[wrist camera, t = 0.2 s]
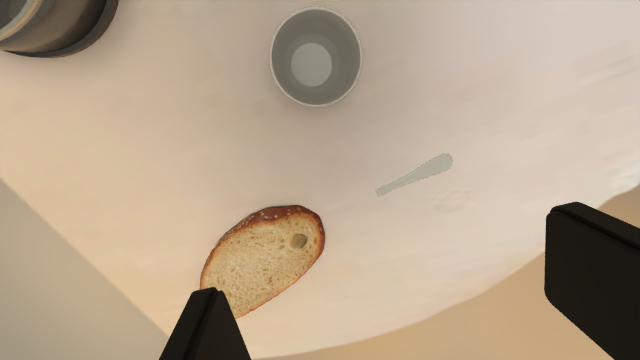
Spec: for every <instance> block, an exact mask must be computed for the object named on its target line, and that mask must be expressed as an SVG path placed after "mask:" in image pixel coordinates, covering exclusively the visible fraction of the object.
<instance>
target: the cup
mask: <svg viewBox="0 0 640 360" xmlns="http://www.w3.org/2000/svg"><path fill="white" fill-rule="evenodd" d="M362 60H363V55H362V47H361V43H360V39H359V37H358V35H357V33H356V31H355V29H354V28H353V26H352V25H351V24H350V22H349V21H348V20H347V19H346V18H344V17H343V16H342V15H341V14H339V13H337V12H335V11H333V10H331V9H328V8H324V7H307V8H303V9H300V10H298V11H296V12H294V13H292V14H291V15H289V16H288V17H287V18H286V19H284V20H283V22H282V23H281V24H280V25H279V27H278V28H277V30H276V31H275V33H274V36H273V38H272V41H271V45H270V51H269V62H270V68H271V72H272V75H273V78H274V80H275V82H276V84H277V85H278V87H279V88H280V89H281V91H282V92H283V93H284V94H285V95H286V96H287V97H289V98H290V99H291V100H293V101H295V102H297V103H299V104H301V105H304V106H309V107H324V106H328V105H331V104H334V103H336V102H338V101H339V100H341V99H342V98H344V97H345V96H346V95H347V94H348V93H349V92H350V91H351V90H352V88H353V87H354V85H355V84H356V82H357V80H358V78H359V75H360V72H361V68H362Z"/></svg>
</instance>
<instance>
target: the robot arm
mask: <svg viewBox="0 0 640 360" xmlns="http://www.w3.org/2000/svg"><path fill="white" fill-rule="evenodd" d="M544 290H545V295H546V297H547V299H548V300H549V302H550V303H551V304H552V305H553V306H554V307H555V308H557V309H558V310H559V311H560V312H561V313H562V314H563V315H564V316H566V317H567V318H568V319H569V320H570V321H571V322H573V323H574V324H575V325H576V326H577V327H578V328H579V329H580V330H581V331H583V332H584V333H585V334H586V335H587V336H589V338H591V339H592V340H593V341H594V342H595V343H596V344H597V345H598V346H600V347H601V348H602V349H603V350H604V351H605V352H606V353H607V354H609V355H610V356H611V357H612V358H613V359H614V360H640V228H637V227H635V226H633V225H631V224H628V223H626V222H624V221H621V220H619V219H617V218H615V217H612V216H610V215H608V214H605V213H603V212H601V211H599V210H596V209H594V208H592V207H589V206H587V205H585V204H583V203H580V202H572V203H568V204H564V205H559V206H555V207H553V208H552V209H551V211H550V213H549V214H548V215H547V217H546V244H545V286H544ZM159 360H251V358H250V355H249V353H248V350H247V348H246V345H245V343H244V340H243V338H242V335H241V333H240V330H239V328H238V325H237V323H236V320H235V318H234V315H233V313H232V310H231V308H230V305H229V303H228V300H227V298H226V295H225V293H224V292H223V291H222V290H220V291H218V290H217V288H216V287H210V288H205V289H201V290H197V291H194V292H193V293H192V294H191V296H190V298H189V300H188V302H187V304H186V306H185V308H184V310H183V312H182V314H181V316H180V318H179V320H178V322H177V324H176V326H175V328H174V330H173V332H172V334H171V336H170V338H169V340H168V342H167V344H166V346H165V348H164V350H163V352H162V354H161V357H160V358H159Z"/></svg>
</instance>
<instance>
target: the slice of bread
mask: <svg viewBox="0 0 640 360" xmlns="http://www.w3.org/2000/svg"><path fill="white" fill-rule="evenodd" d="M324 244H325V233H324V229H323V226H322V222H321V219H320V217H319V216H318V215H317V214H316V213H314V212H312V211H310V210H309V209H307V208H305V207H303V206H300V205H295V206H290V207H282V208H268V209H264V210H262V211H259V212H257V213H255V214H252V215H250V216H248V217H247V218H246V219H244V220H242V221H241V222H240V223H238V224H237V225H236V226H234V227H233V228H232V229H231V230H230V231H228V232H227V233H225V235H224V236H223V237H222V238H221V240H220V241H219V242H218V244H217V245H216V247H215V248H214V249H213V250H212V251H211V253H210V255H209V257H208V258H207V260H206V263H205V266H204V268H203V270H202V273H201V280H200V290H201V289H205V288H210V287H216V288H217V290H218V291H220V290H222V291H223V292H224V293H225V295H226V298H227V300H228V303H229V305H230V308H231V310H232V313H233V315H234V318H235V319H237V318H239V317H241V316H244V315H246V314H247V313H249V312H250V311H253V310H255V309H256V308H258V307H259V306H261V305H263V304H264V303H266V302H267V301H269V300H271V299H272V298H274V297H276V296H277V295H278V294H279V293H281V292H283V291H284V290H285V289H287V288H288V287H290V286H291V285H292V284H294V283H295V282H296V281H297V280H298V279H299V278H300V277H301V276H303V275H304V274H305V273H306V272H307V271H308V270H309V268H310V267H311V266H312V265H313V264H314V263H315V262H316V260H317V259H318V258H319V257H320V255H321V253H322V252H323V249H324Z"/></svg>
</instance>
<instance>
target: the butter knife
mask: <svg viewBox="0 0 640 360" xmlns="http://www.w3.org/2000/svg"><path fill="white" fill-rule="evenodd" d="M452 162H453V160H452V157H451V156H450V155H449V154H446V153H444V154H442V155H440V156H437V157H435V158H433V159H432V160H430V161H428V162H427V163H425V164H423V165H422V166H420V167H419V168H417V169H416V170H414V171H412V172H411V173H409V174H408V175H406V176H404V177H402V178H400V179H398V180H396V181H394V182H392V183H390V184H388V185H385V186H383V187H381V188H379V189H377V190H375V191H376V193H377V195H378V197H380V196H382V195H384V194H386V193H388V192H390V191H392V190H394V189H396V188H399V187H401V186H404V185H406V184H408V183H411V182H414V181H417V180H420V179H424V178H427V177H430V176H433V175H436V174H439V173H441V172H443V171H446V170H448V169H450V167H451V166H452Z"/></svg>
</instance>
